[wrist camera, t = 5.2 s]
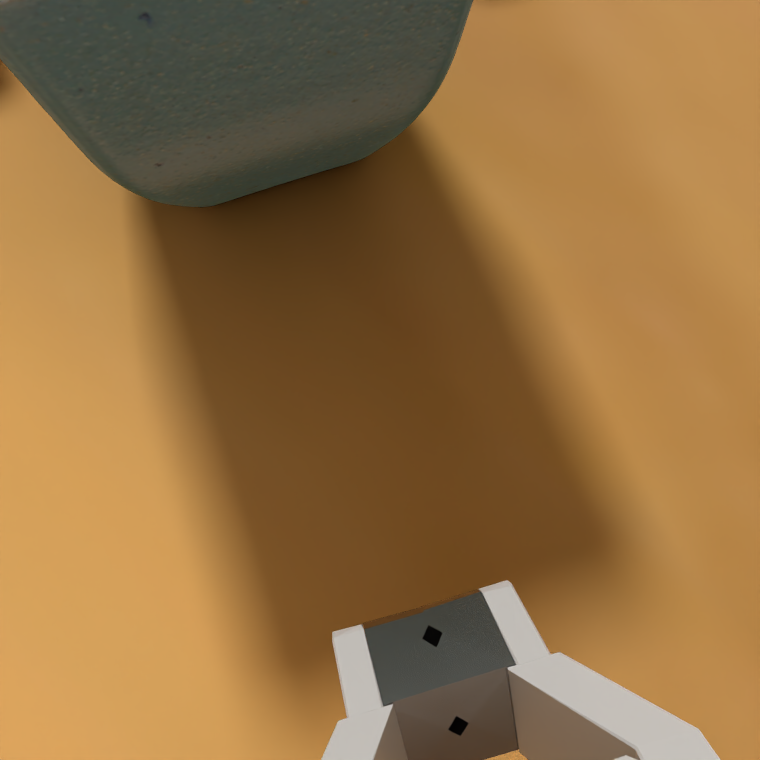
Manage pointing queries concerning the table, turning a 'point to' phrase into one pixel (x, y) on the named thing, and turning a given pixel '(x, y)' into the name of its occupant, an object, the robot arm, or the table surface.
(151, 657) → the table surface
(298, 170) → the flower pot
